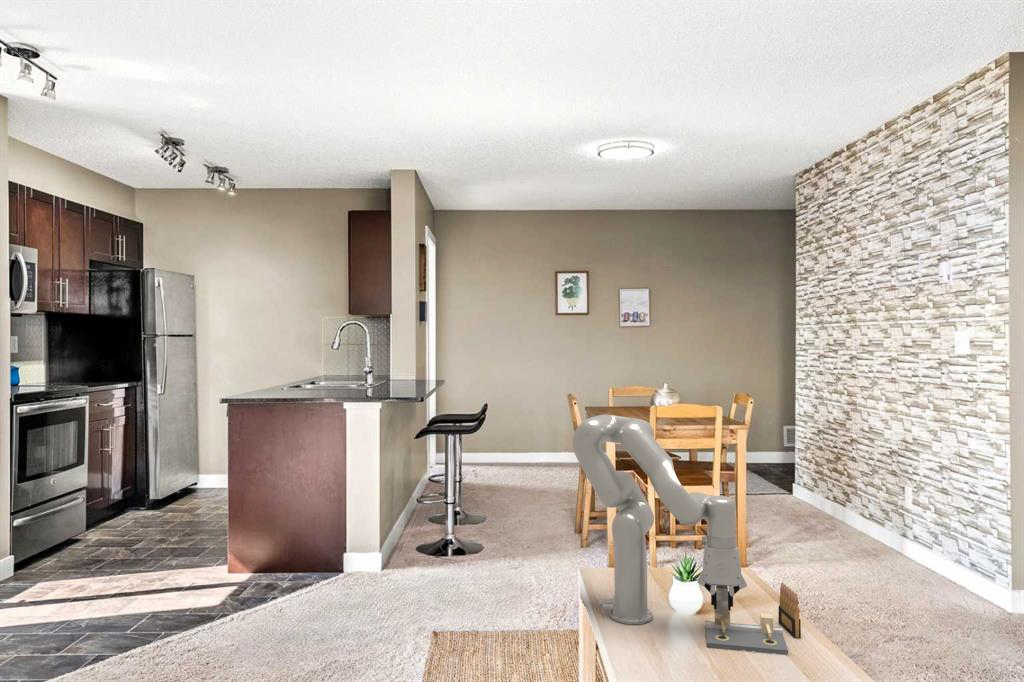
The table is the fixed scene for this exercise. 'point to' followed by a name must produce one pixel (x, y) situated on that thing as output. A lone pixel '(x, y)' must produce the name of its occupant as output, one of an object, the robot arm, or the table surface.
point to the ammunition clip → (789, 611)
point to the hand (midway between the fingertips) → (722, 607)
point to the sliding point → (722, 608)
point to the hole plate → (748, 636)
